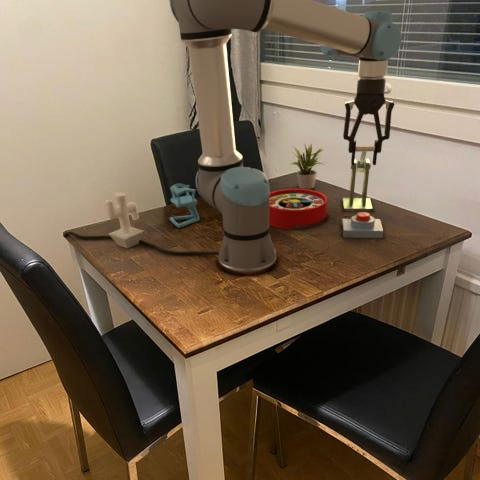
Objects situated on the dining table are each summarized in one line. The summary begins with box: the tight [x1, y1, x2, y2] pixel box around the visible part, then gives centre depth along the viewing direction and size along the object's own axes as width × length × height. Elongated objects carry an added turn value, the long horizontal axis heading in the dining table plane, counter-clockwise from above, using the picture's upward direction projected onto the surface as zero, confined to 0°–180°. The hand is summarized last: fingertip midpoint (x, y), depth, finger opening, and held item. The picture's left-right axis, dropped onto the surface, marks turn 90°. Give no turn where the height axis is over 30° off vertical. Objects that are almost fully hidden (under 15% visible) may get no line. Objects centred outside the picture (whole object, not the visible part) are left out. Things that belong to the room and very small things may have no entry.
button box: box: [341, 214, 384, 239], centre depth 143 cm, size 11×9×4 cm
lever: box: [355, 145, 375, 173], centre depth 149 cm, size 13×6×2 cm
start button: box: [356, 211, 371, 221], centre depth 141 cm, size 4×4×2 cm
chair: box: [169, 182, 200, 229], centre depth 153 cm, size 8×8×12 cm
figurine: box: [105, 191, 145, 249], centre depth 139 cm, size 7×9×15 cm
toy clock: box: [269, 188, 328, 230], centre depth 154 cm, size 20×6×20 cm
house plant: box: [291, 143, 327, 190], centre depth 172 cm, size 14×14×16 cm
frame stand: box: [342, 158, 373, 210], centre depth 157 cm, size 10×9×15 cm
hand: (363, 163), depth 146 cm, fingers closed on lever, 5 cm apart
